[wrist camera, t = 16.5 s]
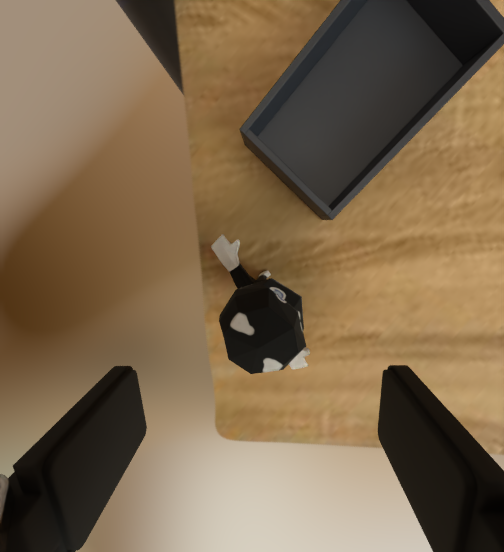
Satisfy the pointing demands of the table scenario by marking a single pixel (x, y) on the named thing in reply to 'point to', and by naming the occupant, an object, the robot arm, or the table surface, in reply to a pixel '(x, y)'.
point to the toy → (260, 318)
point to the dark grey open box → (367, 91)
